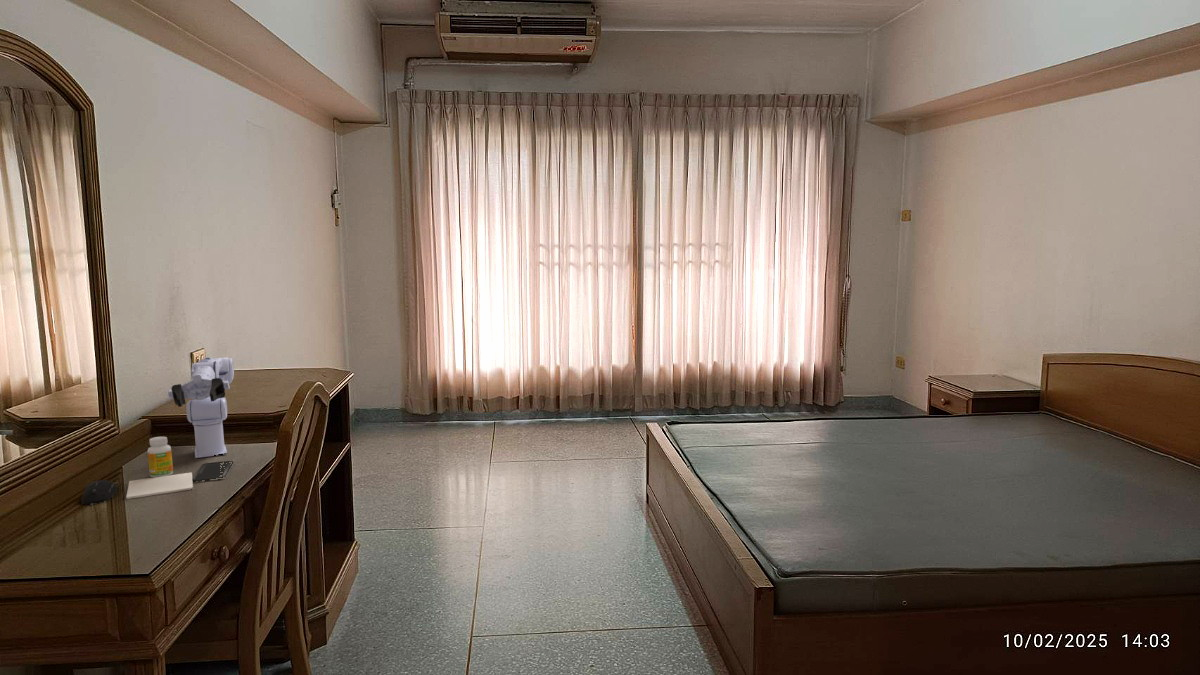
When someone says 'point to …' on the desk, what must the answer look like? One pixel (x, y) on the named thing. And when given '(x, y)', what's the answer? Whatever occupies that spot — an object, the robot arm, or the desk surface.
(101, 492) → the gaming mouse
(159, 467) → the supplement bottle
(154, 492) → the sticky note pad
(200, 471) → the phone
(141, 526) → the desk surface
